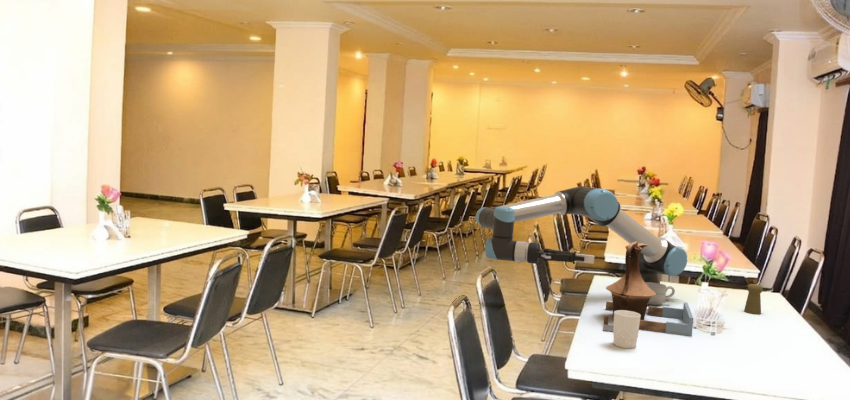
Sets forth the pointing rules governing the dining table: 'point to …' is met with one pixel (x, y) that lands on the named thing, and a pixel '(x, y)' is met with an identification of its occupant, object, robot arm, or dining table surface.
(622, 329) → the beige tumbler
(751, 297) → the cork
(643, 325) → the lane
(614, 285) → the pitcher
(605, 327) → the mat
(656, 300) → the teacup
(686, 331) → the pocket
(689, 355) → the dining table surface
